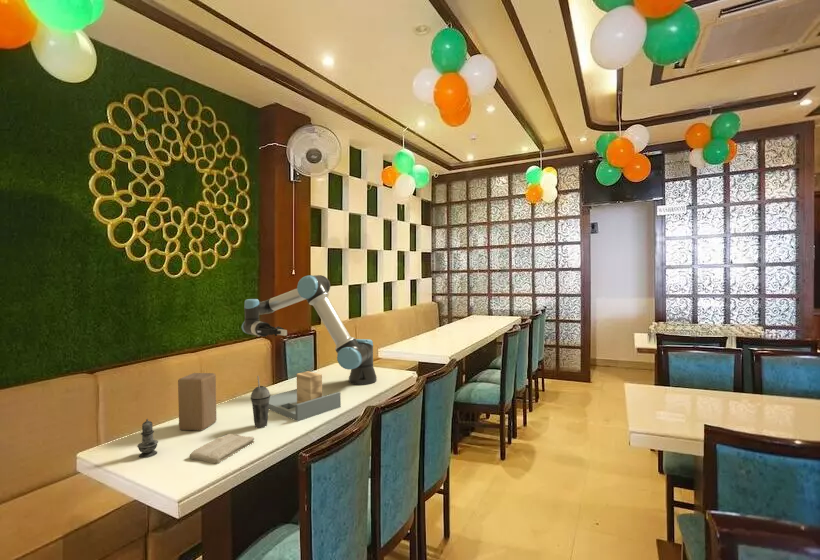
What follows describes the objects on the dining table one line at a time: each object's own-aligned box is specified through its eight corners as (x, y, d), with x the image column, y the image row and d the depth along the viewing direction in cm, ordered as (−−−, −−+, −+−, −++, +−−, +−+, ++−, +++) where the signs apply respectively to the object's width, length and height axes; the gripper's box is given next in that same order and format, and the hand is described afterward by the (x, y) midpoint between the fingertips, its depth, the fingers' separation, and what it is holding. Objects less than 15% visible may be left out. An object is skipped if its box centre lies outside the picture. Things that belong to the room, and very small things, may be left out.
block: (217, 421, 164) (216, 372, 163) (202, 431, 154) (201, 379, 153) (194, 421, 165) (193, 372, 164) (177, 430, 155) (176, 378, 154)
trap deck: (299, 393, 201) (299, 380, 201) (340, 407, 180) (340, 392, 180) (257, 404, 184) (257, 390, 184) (297, 421, 163) (297, 405, 163)
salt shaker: (143, 450, 137) (142, 415, 137) (162, 450, 138) (161, 415, 138) (133, 458, 132) (132, 422, 131) (152, 458, 132) (151, 421, 132)
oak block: (308, 399, 183) (308, 371, 182) (322, 404, 176) (321, 374, 176) (297, 403, 178) (296, 373, 178) (310, 407, 172) (310, 377, 171)
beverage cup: (274, 423, 161) (273, 373, 161) (262, 430, 154) (261, 378, 154) (259, 421, 163) (258, 372, 163) (246, 428, 156) (245, 376, 156)
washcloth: (256, 443, 144) (256, 434, 144) (218, 466, 127) (218, 456, 127) (229, 439, 148) (229, 430, 148) (188, 461, 131) (188, 451, 131)
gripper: (272, 334, 222) (297, 338, 207) (249, 337, 212) (274, 342, 197) (272, 320, 222) (296, 323, 207) (249, 323, 212) (273, 326, 197)
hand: (285, 332), depth 202 cm, fingers closed
